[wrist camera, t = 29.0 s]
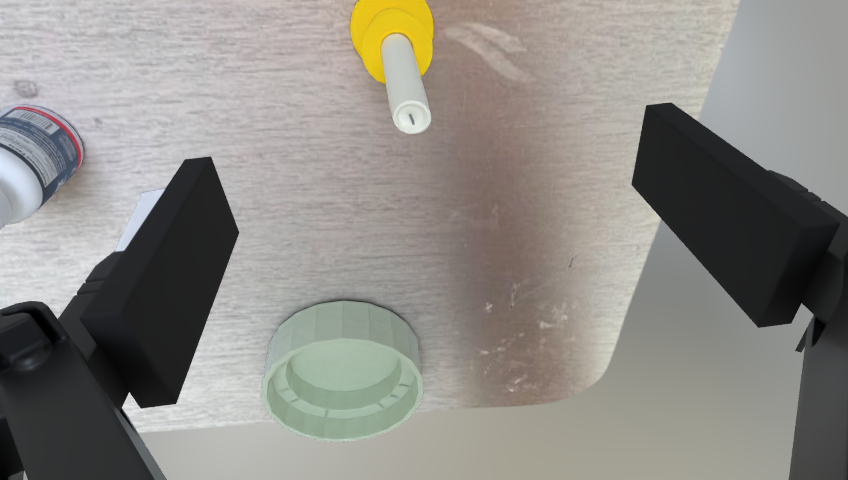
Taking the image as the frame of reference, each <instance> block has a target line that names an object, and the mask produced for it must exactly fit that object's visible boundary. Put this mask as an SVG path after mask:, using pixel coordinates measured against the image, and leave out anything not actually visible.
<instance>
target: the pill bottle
mask: <svg viewBox="0 0 848 480" xmlns="http://www.w3.org/2000/svg"><path fill="white" fill-rule="evenodd" d="M82 160H83V146H82V143H81V140H80V138H79V136H78V135H77V133H76V132H75V130H74V129H73V128H72V127H71V126H70V125H69V124H68V123H67V122H66V121H65V120H64V119H62V118H61V117H60V116H58V115H56V114H55V113H53V112H51V111H49V110H46V109H44V108H41V107H37V106H32V105H15V106H11V107H8V108H5V109H3V110H1V111H0V229H1V228H3V227H4V226H5V225H9V224H14V223H18V222H21V221H23V220H25V219H27V218H28V217H30V216H31V215H33V214H34V213H35V212H36V211H37V210H38V209H39V208H40V207H41V206H42V205H43V204H44V203H45V202H46V201H47V200H48V199H49V198H50V197H51V196H52V195H53V194H54V193H55V192H56V191H57V190H58V189H59V188H60V187H61V186H62V185H63V184H64V183H65V182H66V181H67V180H68V179H69V178H70V177H71V176H72V175H73V174H74V173H75V172H76V171H77V170H78V168H79V167H80V165H81V163H82Z"/></svg>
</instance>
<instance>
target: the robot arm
mask: <svg viewBox="0 0 848 480" xmlns="http://www.w3.org/2000/svg"><path fill="white" fill-rule="evenodd" d="M632 186H633V187H634V188H635V189H636V190H637V192H638V193H639V194H640V195H641V196H642V197H643V198H644V199H645V201H646V202H647V203H648V204H649V205H650V206H651V207H652V208H653V210H654V211H655V212H656V213H657V214H658V215H659V216H660V217H661V219H662V220H663V221H664V222H665V223H666V224H667V225H668V226H669V228H670V229H671V230H672V231H673V232H674V233H675V234H676V235H677V237H678V238H679V239H680V240H681V241H682V242H683V243H684V244H685V246H686V247H687V248H688V249H689V250H690V251H691V252H692V253H693V255H694V256H695V257H696V258H697V259H698V260H699V261H700V262H701V264H702V265H703V266H704V267H705V268H706V269H707V270H708V271H709V273H710V274H711V275H712V276H713V277H714V278H715V279H716V280H717V282H718V283H719V284H720V285H721V286H722V287H723V288H724V289H725V291H726V292H727V293H728V294H729V295H730V296H731V297H732V298H733V300H734V301H735V302H736V303H737V304H738V305H739V306H740V307H741V309H742V310H743V311H744V312H745V313H746V314H747V315H748V316H749V318H750V319H751V320H752V321H753V322H754V323H755V324H756V325H757V327H759V328H760V327H767V326H775V325H783V324H790V323H792V321H793V319H794V317H795V314H796V313H797V311H798V309H799V307H800V305H801V303H802V304H803V305H804V306H806V307H807V308H808V309H809V310H810V311H811V312H812V313H813V314H814V316H813V318H812V319H811V322H810V323H809V325H808V327H807V329H806V331H805V333H804V335H803V337H802V339H801V340H800V343H799V344H798V346H797V348H796V350H795V351H798V352H802V350H803V349H804V347H805V352H804V360H803V369H802V376H801V384H800V392H799V401H798V409H797V417H796V426H795V434H794V442H793V450H792V458H791V466H790V475H789V480H848V217H847V216H846V215H844V214H843V213H841V212H840V211H838V210H837V209H835V208H834V207H833V206H831V205H830V204H828V203H827V202H825V201H821V198H819V197H818V196H816V195H815V194H814V193H812V192H808V189H806V188H805V187H803V186H802V185H800V184H799V183H798V182H796V181H795V180H793V179H791V178H789V177H786V176H784V175H781V174H779V173H776V172H774V171H771V170H769V171H767V170H766V169H764V168H763V167H761V166H760V165H758V164H757V163H756V162H754V161H753V160H751V159H750V158H749V157H747V156H746V155H744V154H743V153H741V152H740V151H739V150H737V149H736V148H734V147H733V146H732V145H730V144H729V143H727V142H726V141H725V140H723V139H722V138H720V137H719V136H717V135H716V134H715V133H713V132H712V131H710V130H709V129H708V128H706V127H705V126H703V125H702V124H700V123H699V122H698V121H696V120H695V119H694V118H692V117H691V116H689V115H688V114H687V113H685V112H684V111H682V110H681V109H679V108H678V107H677V106H675V105H674V104H672V103H662V104H654V105H646V109H645V115H644V120H643V125H642V131H641V136H640V142H639V147H638V152H637V158H636V163H635V169H634V174H633V179H632ZM238 234H239V231H238V228H237V225H236V223H235V220H234V217H233V215H232V212H231V209H230V207H229V204H228V201H227V198H226V196H225V193H224V190H223V188H222V185H221V182H220V180H219V177H218V174H217V171H216V169H215V166H214V163H213V161H212V158H211V157H203V158H194V159H186V160H184V162H183V163H182V165H181V166H180V168H179V169H178V171H177V172H176V174H175V175H174V177H173V178H172V180H171V181H170V183H169V184H168V186H167V187H166V189H165V190H164V192H163V193H162V195H161V196H160V198H159V199H158V201H157V202H156V204H155V205H154V207H153V208H152V210H151V211H150V213H149V214H148V216H147V217H146V219H145V220H144V222H143V223H142V225H141V226H140V228H139V229H138V231H137V232H136V234H135V235H134V237H133V238H132V240H131V241H130V243H129V244H128V246H127V247H126V249H125V250H124V251H116V252H113V253H111V254H110V255H109V256H108V257H106V258H105V259H104V260H103V261H101V262H100V263H99V264H98V265H96V266H95V268H94V269H93V271H92V272H91V273H90V275H89V276H88V278H87V279H86V280H85V281H86V283H83V285H82V286H81V287H80V289H79V290H78V292H77V295H75V296H74V297H73V299H72V300H71V301H70V303H69V304H68V306H67V307H66V308H65V310H64V311H63V313H62V314H61V315H60V317H59V318H58V319H57V318H56V317H55V315H54V314H53V312H52V311H51V310H50V308H49V307H48V306H47V305H46V304H44V303H43V302H37V301H28V302H23V303H17V304H14V305H11V306H9V307H6V308H4V309H1V310H0V480H23V473H24V470H25V473H26V475H27V478H28V480H167V479H166V478H165V476H164V475H163V473H162V471H161V470H160V468H159V466H158V465H157V463H156V461H155V460H154V458H153V456H152V455H151V453H150V452H149V450H148V448H147V447H146V445H145V443H144V442H143V440H142V439H141V437H140V435H139V434H138V432H137V430H136V429H135V427H134V426H133V424H132V422H131V421H130V419H129V417H128V416H127V415H126V413H125V412H124V410H123V409H122V406H123V404H124V402H125V400H126V398H127V395H128V393H129V392H130V393H131V395H132V396H133V398H134V399H135V401H136V402H137V404H138V405H139V407H140V408H148V407H156V406H163V405H171V404H176V403H177V400H178V397H179V394H180V392H181V389H182V386H183V384H184V381H185V378H186V375H187V373H188V370H189V367H190V365H191V362H192V359H193V356H194V354H195V351H196V348H197V346H198V343H199V340H200V337H201V335H202V332H203V329H204V327H205V324H206V321H207V318H208V316H209V313H210V310H211V308H212V305H213V302H214V299H215V297H216V294H217V291H218V289H219V286H220V283H221V281H222V278H223V275H224V272H225V270H226V267H227V264H228V262H229V259H230V256H231V253H232V251H233V248H234V245H235V243H236V240H237V237H238Z"/></svg>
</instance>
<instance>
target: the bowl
mask: <svg viewBox="0 0 848 480" xmlns="http://www.w3.org/2000/svg"><path fill="white" fill-rule="evenodd" d="M423 393H424V387H423V380H422V372H421V364H420V356H419V349H418V341H417V338H416V336H415V334H414V333H413V331H412V330H411V328H410V327H409V325H408V324H407V323H406V322H405V321H404V320H402V319H401V318H399V317H398V316H397V315H395V314H394V313H393V312H391V311H389V310H386V309H384V308H381V307H378V306H375V305H373V304H369V303H363V302H353V301H337V302H329V303H322V304H317V305H314V306H312V307H309V308H307V309H304V310H302V311H299V312H297V313H295V314H294V315H293V316H292V317H290V318H289V319H288V320H286V321H285V322H284V323H283V324H281V325H280V326H279V327H278V329H277V331H276V332H275V334H274V336H273V337H272V339H271V341H270V343H269V348H268V353H267V358H266V363H265V368H264V373H263V378H262V386H261V400H262V402H263V405H264V407H265V409H266V411H267V414H268V415H269V416H270V417H271V418H273V419H274V420H275V421H276V422H277V423H278V424H279V425H280V426H281V427H283V428H285V429H287V430H289V431H291V432H293V433H295V434H297V435H299V436H302V437H307V438H311V439H315V440H320V441H329V442H349V441H356V440H363V439H369V438H372V437H375V436H378V435H380V434H384V433H386V432H389V431H390V430H392V429H394V428H396V427H397V426H399V425H400V424H402V423H404V422H405V421H406V420H408V418H409V417H410V416H411V415H412V414H413V413H414V412H415V410H416V409H417V408H418V407H419V404H420V401H421V399H422V396H423Z"/></svg>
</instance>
